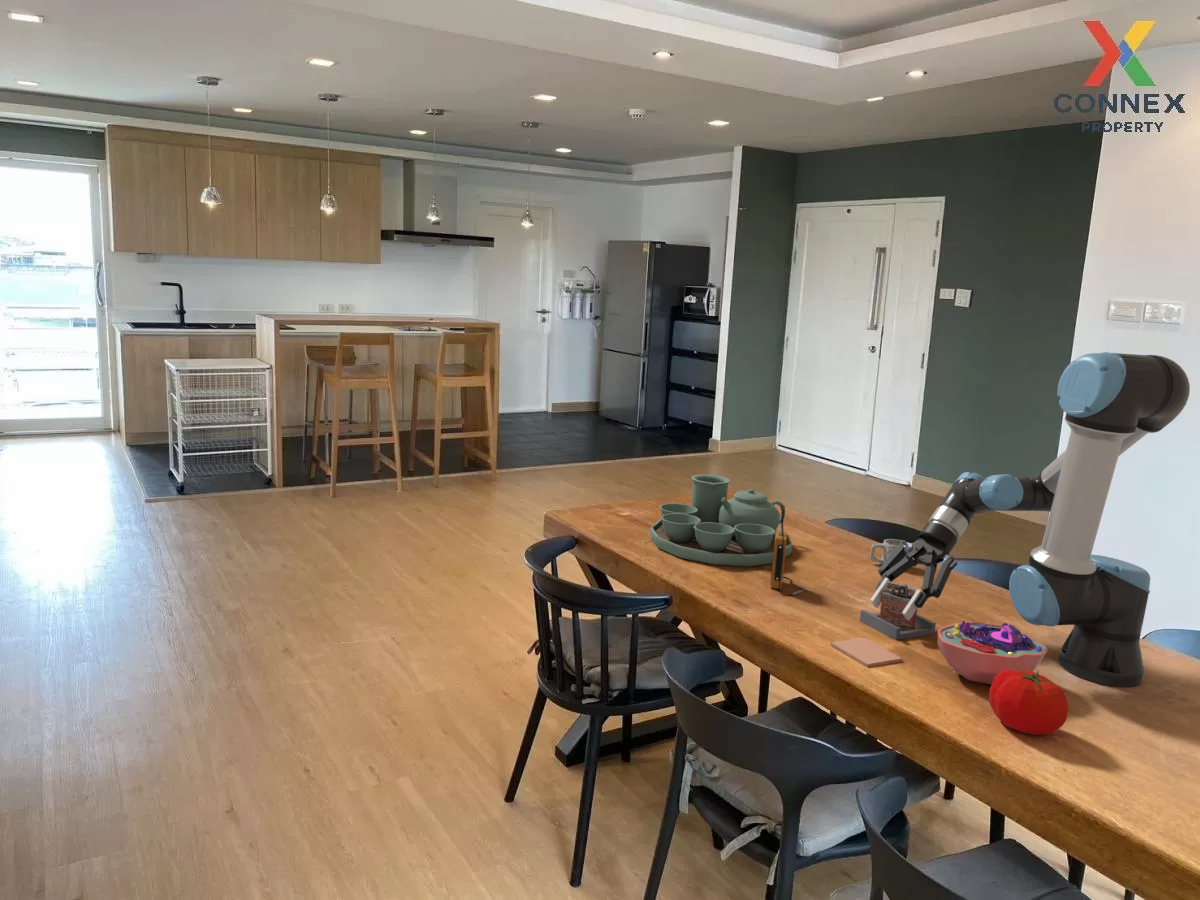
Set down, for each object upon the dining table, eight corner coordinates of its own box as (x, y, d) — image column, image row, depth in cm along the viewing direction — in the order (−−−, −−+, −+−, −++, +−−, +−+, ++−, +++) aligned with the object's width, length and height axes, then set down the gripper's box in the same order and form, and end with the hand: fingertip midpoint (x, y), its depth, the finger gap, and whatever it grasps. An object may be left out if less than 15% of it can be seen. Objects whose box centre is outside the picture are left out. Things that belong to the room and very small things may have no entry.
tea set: (622, 538, 251) (625, 482, 248) (712, 519, 278) (717, 468, 275) (730, 578, 223) (736, 515, 220) (820, 552, 250) (826, 496, 247)
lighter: (916, 629, 195) (922, 586, 193) (913, 634, 192) (919, 590, 191) (880, 620, 199) (885, 578, 198) (876, 624, 197) (881, 582, 195)
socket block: (934, 633, 193) (935, 623, 193) (895, 640, 189) (897, 629, 188) (897, 615, 203) (898, 605, 203) (859, 620, 198) (861, 610, 198)
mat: (901, 661, 178) (901, 658, 178) (866, 667, 174) (867, 664, 174) (863, 640, 188) (864, 637, 187) (830, 645, 184) (830, 642, 184)
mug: (903, 563, 244) (906, 540, 243) (909, 570, 237) (912, 547, 236) (866, 560, 245) (869, 537, 243) (871, 567, 238) (874, 543, 237)
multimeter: (812, 599, 211) (821, 518, 207) (770, 594, 212) (778, 514, 209) (810, 579, 225) (818, 504, 221) (770, 575, 227) (778, 499, 223)
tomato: (999, 705, 161) (1007, 652, 159) (1073, 733, 152) (1083, 678, 150) (972, 723, 154) (981, 668, 152) (1048, 753, 145) (1058, 696, 143)
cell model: (919, 656, 181) (926, 604, 178) (1017, 663, 180) (1025, 611, 178) (948, 694, 164) (957, 637, 162) (1056, 702, 164) (1066, 645, 161)
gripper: (989, 553, 193) (936, 636, 187) (909, 529, 210) (857, 604, 203) (979, 533, 189) (924, 616, 183) (898, 510, 205) (845, 586, 199)
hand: (889, 610), depth 193 cm, fingers closed on lighter, 8 cm apart
